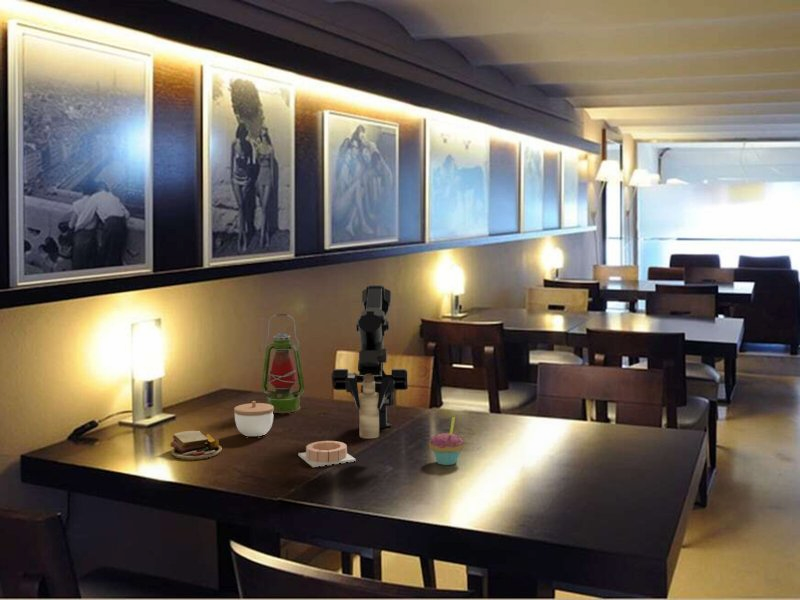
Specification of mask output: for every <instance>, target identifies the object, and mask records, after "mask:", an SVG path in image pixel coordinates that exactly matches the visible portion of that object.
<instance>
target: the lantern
mask: <svg viewBox="0 0 800 600" xmlns="http://www.w3.org/2000/svg"><path fill="white" fill-rule="evenodd" d="M274 317H289V318H291V319H292V321H293V327H294V328H293V329H294V339H295V340H296V342H297V344H298V345H296V344H294V343H291V335H289V334H287V333H285V332H286V328H285V326H279V327H278V329H281V328H283V331H281V330H278V332H279V333H277V334H275V335H273V338H274V339H273V342H272V343H269V344H267V342H268V340H269V339H270V329H271V328H270V327H271V326H270V323H271V320H272V319H273V318H274ZM267 325H268V326H267V330H268V331H267V339H266V340H265V342H264V344H265V347H266V348H265V354H264V363H263V371H262V380H261V381H262V382H261V389H262V391H263V393H264V394H267V397H266V404H270V405H272V406H273V407H274V411H276V412H293V411H297V410H299V409H300V408H301V406H300V396H301V395H303V394H304V392H305V381H304V375H303V367H302V363H301V361H302V360H301V356H300V350H299V347H300V341H299V340H298V337H297V331H296V330H297V329H296V321H295V318H293V316H292V315H289V314H288V313H276V314H274V315H271V316H270V318H269V320H268V323H267ZM272 350H275V354H274V355H273V356H274V357H273V359H272V360H273V361H272V364H271V370H269V369H270V368H269V367H270V360H271V351H272ZM290 350H292V351H293V354H294V361H295V366H296V367H295V366H294V362H293V359H292V356H291V353H290ZM295 368H296V370H295ZM296 372H297V373H296ZM296 374H297V377H296ZM297 378H298V381H297ZM269 383H270V385H272V386H273V387H274V389H275V390H274V391H273V390H270V389H268V388H269ZM296 384H298V387H299V389H298V390H297V391H293V390H291V388H292V387H293V386H294V385H296Z"/></svg>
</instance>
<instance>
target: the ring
mask: <svg viewBox="0 0 800 600" xmlns="http://www.w3.org/2000/svg"><path fill="white" fill-rule="evenodd" d="M297 454H298V456H299V457H300V458H301V460H303V461H305V462H306V463H307V464H308V465H309V466H311V468H318V467H319V466H320V467H326V466H325V465H327V466H333V465H332V464H334V465H340V464H339V463H341V464H347V463H346V462H348V463H353V462H354V461H355V462H357V461H356V458H355V457H353V456H352V455H350V454H349V453H348V446H347V444H346V443H344V442H342V441H336V440H321V441H315V442H311V443H308V444H307V445H306V446H305V452H298V453H297ZM320 467H319V468H320Z"/></svg>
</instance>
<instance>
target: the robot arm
mask: <svg viewBox="0 0 800 600" xmlns="http://www.w3.org/2000/svg"><path fill="white" fill-rule="evenodd" d="M361 306H362V307H363V308H364V310H362V311H361V312H360V317H359V318H358V319H357V322H356V327H355V328H356V332H357V333H359V340H360V349H359V351H358V361H357V362H358V364H357V372H358V374H357V373H356V372H349V369H348V368H334V369H333V370H332V371H331V384H332V389H333V390H336V391H345V392H346V393H350V394H351V396H352V398H353V400H354V403H355V406H356V409H357V410H359V388H358V384H361V386H360V393H361V392H363V381H364V380H363V378H364V375H365V374H367V373H370V374H372V375H373V376H374V381H375V392H378V393H379V404H378V408H379V429H383V428H391V427H392V424H391V423H388V422H387V421H388V417H387V415H388V414H387V411H388V409H387V407H391V406H393V405H394V402H395V401H394V400H395V399H394V398H395V397H394V392H395V391H407V390H408V389H409V385H408V384H409V375H408V374H409V373H408V370H407V369H406V368H391V374H386V372H385V371H384V363H385V364H386V363H387V362H388V352H387V351H388V350H387V348H384V342H385V341H384V337H385V333H388V331H389V329H390V322H388V316H389V314H390V308H391V307H392V292H391V290H389V289H388V288H385V285H381V284H377V285H376V284H371V285H367V286H366V288H365V289H364V290H361Z"/></svg>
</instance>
